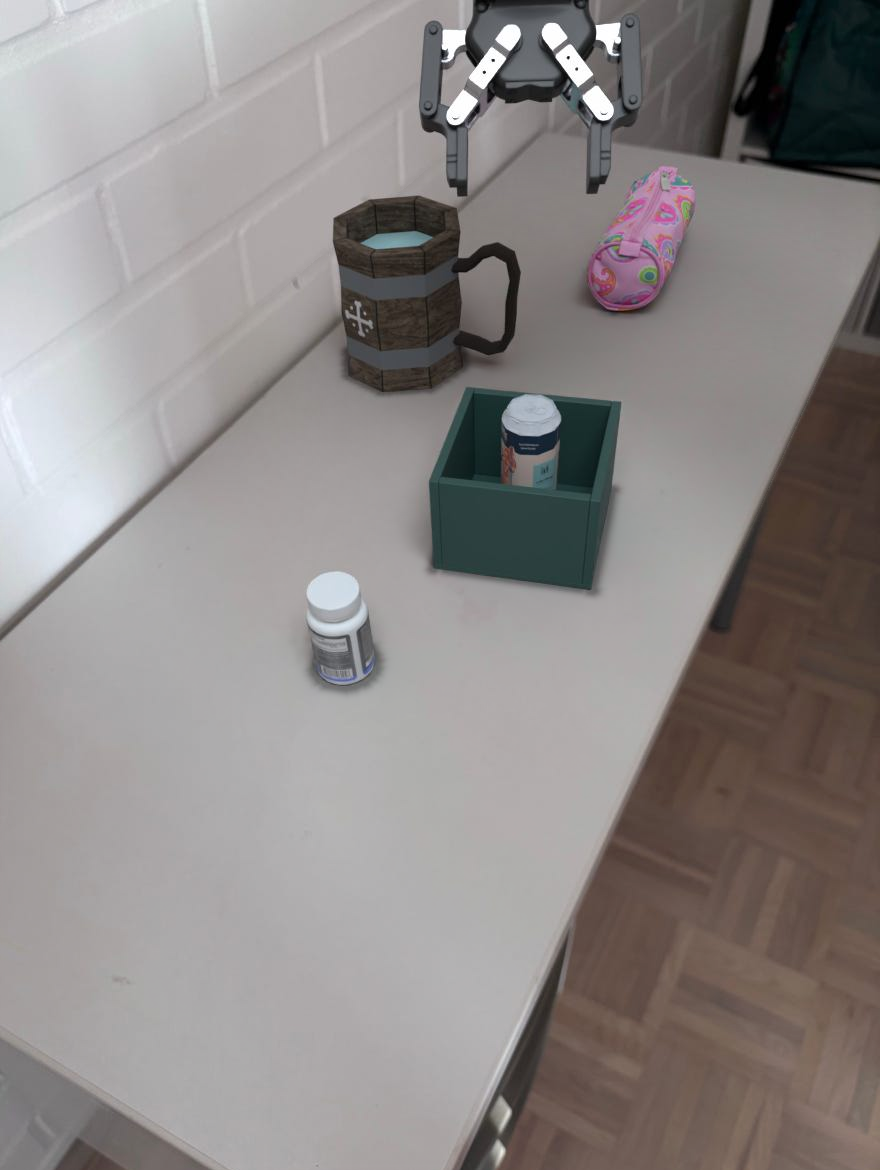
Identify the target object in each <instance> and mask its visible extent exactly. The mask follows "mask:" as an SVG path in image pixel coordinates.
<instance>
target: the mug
mask: <svg viewBox="0 0 880 1170" xmlns="http://www.w3.org/2000/svg"><path fill="white" fill-rule="evenodd" d="M459 219H460V218H459V213H458V207H456V206H452V205H448V204H446V203H443V202H440V201H436V200H434V199H430V198H428V197H425V196H422V195H407V196H394V197H383V198H372V199H371V198H369V199H367V200H365V201H363V202H361V203H359V204H358V205H355V206H354V207H352V208H350V209H348V210H346V211H344V212H341V213H339V214H338V215H336V216H335V217H333V219H332V220H333V221H332V222H333V223H332V244H333V248H334V252H335V256H336V262H337V265H338V274H339V282H340V302H341V304H340V306H341V316H342V320H343V327H344V331H345V335H346V336H345V337H346V343H347V352H348V376H349V377H350V378H353V379H355V380H357V381H359V382H361V383H363V384H365V385H367V386H370V387H372V388H373V389H375V390H377V391H380V392H382V393H388V392H400V391H401V392H403V391H415V390H427V389H428V390H429V389H432V388H435V386H437V385H438V384H441V382H443V381H445V380H446V379H448V378H449V377H450V376H452V375H454V373H457V372H458V371H459V370H461V369H462V368H464V364H463V363H464V362H463V355H462V348H461V347H463V348H466V349H469V350H473V351H475V352H477V353H481V354H483V355H486V356H492V355H497V354H502V353H504V352H505V351H506V350H507V349H508V347H509V345H510V344H511V342H512V341H513V339H514V337H515V334H516V326H517V316H518V296H519V289H520V282H521V276H522V270H521V267H520V264H519V261H518V260H519V259H518V257H517V254H516V251H515V250H513V249H512V248H510V247H508V246H506V245H504V244H503V243H500V242H498V241H497V242H496V241H495V242H491V243H489V244H484V245H482V246H480V247H479V248H478V249H477V250H476V251H474V252H473V253H472V254H471V255H470V256H468V257H459V253H460V251H459V250H460V242H461V232H462V231H461V226H460V225H461V224H460V220H459ZM492 257H495V258H496V259H498V260H500V261H502V262H504V263H505V266H506V269H507V270H506V271H507V275H508V285H507V286H508V287H507V290H506V291H507V292H506V297H505V303H504V304H505V305H504V309H505V310H504V330H503V334H502V336H501V339H500V340H494V341H491V340H489V339H487V338H485V337H483V336H480V335H479V334H478V335H477V334H474V333H471V332H468V331H464V330H461V329H460V328H461V326H460V325H461V315H462V305H463V303H462V301H463V300H462V292H461V286H460V285H461V284H460V273H461V274H462V273H463V274H465V273H469V271H472V270H474V269H475V268H477V266H479V264H480V263H482V261H484V260H487V259H489V258H492Z"/></svg>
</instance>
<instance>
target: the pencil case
mask: <svg viewBox="0 0 880 1170" xmlns="http://www.w3.org/2000/svg"><path fill="white" fill-rule="evenodd" d="M678 170H679V168H678V167H675V166H668V165H667V166H666V165H660V166H659V168H657V170H654V171H652V172H649V173H647V174H645V175H644V176H642V177H640V178H638V180H634V181H633V183H632V184H631V186H630V188H629V190H628V191H627V193H626V195H625V198H624V202H623V205H622V206H621V207H620V209H619V210H618V212H617V214H616V216H615V218H614V220H613V222H611V224H610V225H609V227H608V228H607V229H606V230H605V231H604V232H603V233H602V236H601V237H599V239H598V241H597V242H596V245H595V248H594V250H593V252H591V253H592V254H591V255H590V257H589V260H588V263H587V268H586V281H587V285H588V288H589V291H590V292H591V295H592V296H593V297H594V298H595V300H596V301H597V302H598V303H599V304H600V305H601V306H602V307H603V308H605V309H607V310H610V311H617V312H622V311H631V310H636V309H640V308H643V307H645V306H646V305H648V304H649V303H651V302H652V301H654V300H655V298H657V296H658V295H659V294H660V292H661V291H662V288H663V285H664V283H665V282H666V280H667V279H668V277H669V276H670V274H671V273H672V271H673V268H674V267H675V266H674V265H675V261H676V257H677V255H678V252H679V250H680V248H681V246H682V243H683V240H684V236H685V233H686V231H687V229H688V227H689V226H690V224H691V221H692V219H693V217H694V213H695V208H696V205H697V204H696V202H697V196H696V191H695V188H694V186H693V185H692V183H690V181H688V180H687V178H684V177H683V176H682V175H680V174H679V173H678V174H677V172H678Z"/></svg>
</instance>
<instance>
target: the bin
mask: <svg viewBox="0 0 880 1170" xmlns="http://www.w3.org/2000/svg"><path fill="white" fill-rule="evenodd" d="M525 394H530V395H542V396H544V397H547V398H549V399H551V400H553V402H554V404H555V406H556V408H557V410H558V411H559V413H560V415H561V430H560V445H559V460H558V476H557V490H551V489H542V488H533V487H525V486H516V485H508V484H501V434H502V415H503V413H504V411H505V410H506V409H507V407H508V405H509V404H510V402H511V401H512V399H514V398H517V397H520V396H522V395H525ZM621 410H622V401H618V400H609V399H608V400H607V399H598V398H586V397H576V396H565V395H554V394H547V393H534V392H524V391H523V392H522V391H513V390H502V389H493V388H482V387H471V386H466V387H465V389H464V391H463V394H462V396H461V399H460V402H459V404H458V407H457V410H456V411H455V414H454V416H453V419H452V422H451V424H450V427H449V429H448V432H447V435H446V437H445V440H444V441H443V445H442V446H441V450H440V452H439V455H438V457H437V460H436V462H435V465H434V466H433V470H432V471H431V472H432V473H431V475H430V478H429V480H428V489H429V491H428V492H429V507H430V508H429V511H430V525H431V526H430V527H431V544H432V546H431V547H432V561H433V562H432V563H433V568H434V569H439V570H446V571H453V572H460V573H467V574H475V575H482V576H489V577H496V578H504V579H509V580H511V579H512V580H518V581H526V582H533V583H540V584H547V585H555V586H562V587H570V588H577V589H584V590H589V591H591V590H592V587H593V583H594V577H595V572H596V567H597V562H598V558H599V552H600V548H601V543H602V537H603V532H604V527H605V523H606V519H607V513H608V508H609V503H610V499H611V493H612V487H613V479H614V470H615V463H616V454H617V446H618V444H617V443H618V435H619V426H620V417H621V412H622V411H621Z"/></svg>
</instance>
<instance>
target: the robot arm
mask: <svg viewBox="0 0 880 1170" xmlns="http://www.w3.org/2000/svg"><path fill="white" fill-rule="evenodd" d="M640 23H641V21H640V18H639V16H638V15H637V14H635V13H632V12H629V13H626V14H624V15H623V16H622V18H621V19H620V22H614V23H613V22H612V23H604V24H596V23H595V21H594V20H593V17H592V15H591V11H590V0H472V17H471V20H470V22H469V24H468V26H467V27H466V29H444V27H443V25H442V23H441V22H439V21H438V20H430V21H428V22H427V23H426V24H425V25H424V29H423V41H422V54H421V69H420V82H419V83H420V85H419V98H418V99H419V100H418V112H419V118H420V125H421V128H422V130H423V131H424V132H426V133H429V134H431V133H438V134H441V135H442V136H443V137H444V138H445V139H446V143H445V145H446V146H445V147H446V148H445V149H446V151H445V153H446V154H445V155H446V156H445V174H446V175H445V176H446V181H447V184H448V187H449V189H456V197H459V198H463V197H465V198H466V197H468V195H469V194H468V193H469V192H468V189H469V186H468V185H469V132H470V131H471V129H472V128H473V126H474V125H475V124H476V122H477V121H478V120H479V118H482V117H483V116H484V115H485V114H486V112H487V111H488V109H489V108H490V107H491V106H492V105H493V103H494V102H495V100H496V99H497V98H498V99H500V100H502V101H504V104H505V105H506V104H509V105H510V104H519V103H522V102H526V101H533V102H535V103H536V102H537V103H553V99H555V98H557V97H559V96H560V98H561V99H562V100H563V101H564V103H565V104H566V106H567V107H568V108H569V110H570V111H571V113H573V114H574V115H577V116H578V117H579V119H580V120H581V121H582V122H583V123H584V125H585V127H586V128H587V130H588V134H587V138H586V169H585V170H586V171H585V173H586V174H585V175H586V177H585V195H598V193H599V189H600V185H606V183H607V181H608V179H609V175H610V172H611V168H612V133H613V132H614V131H616V130H617V129H619V128H622V127H624V128H630V127H631V128H632V126H634V125H635V124H636V122H637V120H638V116H639V111H640V109H641V107H642V104H643V99H644V98H643V74H642V72H643V71H642V70H643V69H642V48H641V47H642V46H641V44H642V43H641V24H640ZM595 48H598V49H601V50H602V51H603V53H604V57H605V60H606V61H607V62H608V63H610V64H612V65H614V64H615V67H616V68H615V69H616V70H615V71H616V94H617V97H616V99H613V100H612V101H610V100H609V98H608V97H607V96H606V95H605V94H604V92H603V90H602V89H601V88H600V86H599V85H598V83H597V81H596V80H597V79H596V78H595V75H594V73H593V72H592V71H591V69H590V68H589V67H588V65H587V63H586V62H587V60H588V59H589V58H590V56H591V55H592V54H593V52H594V51H595V50H594V49H595ZM462 53H465V54H466V57H467V60H469V62H470V63H471V64H472V66H473V67H474V70H473V71H472V73H471V74H470V76H469V77H468V78H467V80H466V82H465V84H464V87H463V89H462V90H461V92H460V94H459V95H458V96H457V97H456V98H455V100H454V101H453V103H452V104H451V105H450V106H449V105H446V104H443V103H441V102H442V92H443V91H442V88H443V74H444V70H445V71H447V70H450V69H451V68H452V67H453V66H454V64H455V62H456V58H457V57H458V56H459V55H461V54H462Z"/></svg>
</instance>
